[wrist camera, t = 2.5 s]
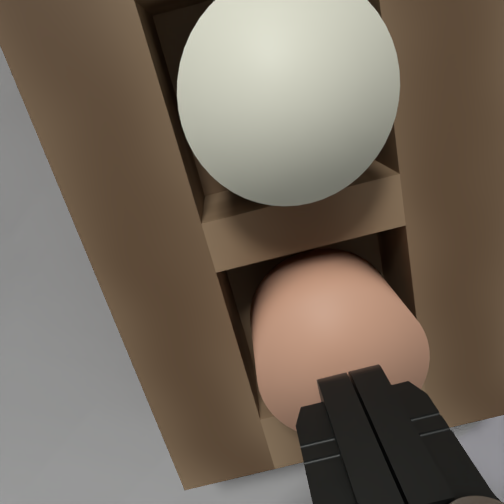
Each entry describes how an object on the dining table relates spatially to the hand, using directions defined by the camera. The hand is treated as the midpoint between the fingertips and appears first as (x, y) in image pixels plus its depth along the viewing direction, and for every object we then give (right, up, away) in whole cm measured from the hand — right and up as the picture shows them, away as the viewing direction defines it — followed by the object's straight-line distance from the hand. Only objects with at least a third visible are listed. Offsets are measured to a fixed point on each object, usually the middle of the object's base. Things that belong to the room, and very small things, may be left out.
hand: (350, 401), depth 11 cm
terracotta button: (0, +1, +4) cm, 4 cm away
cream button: (-2, +8, +1) cm, 8 cm away
